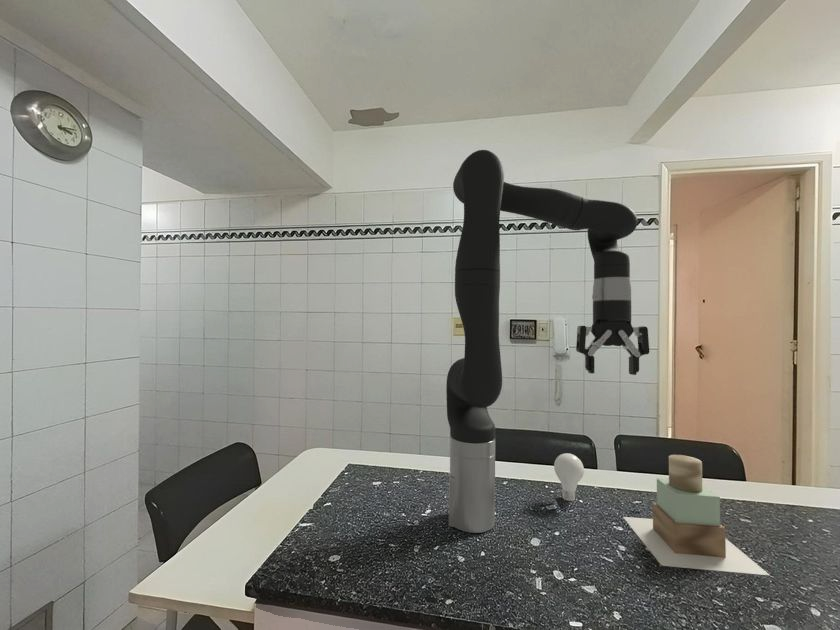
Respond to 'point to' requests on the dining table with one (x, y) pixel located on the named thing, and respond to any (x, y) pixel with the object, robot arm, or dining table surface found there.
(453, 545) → the dining table surface
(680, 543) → the walnut block
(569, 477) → the lightbulb
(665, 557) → the base board
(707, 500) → the sage block
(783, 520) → the dining table surface
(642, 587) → the dining table surface
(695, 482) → the birch cylinder
